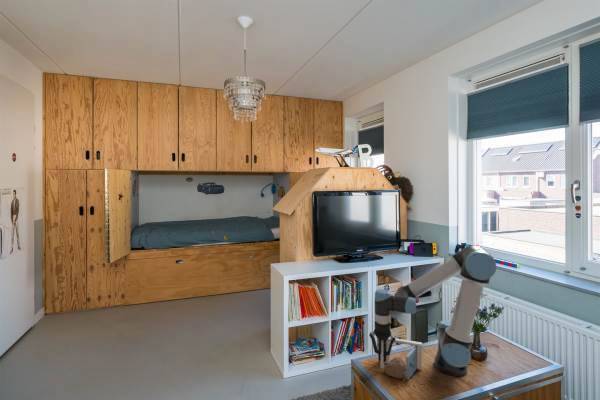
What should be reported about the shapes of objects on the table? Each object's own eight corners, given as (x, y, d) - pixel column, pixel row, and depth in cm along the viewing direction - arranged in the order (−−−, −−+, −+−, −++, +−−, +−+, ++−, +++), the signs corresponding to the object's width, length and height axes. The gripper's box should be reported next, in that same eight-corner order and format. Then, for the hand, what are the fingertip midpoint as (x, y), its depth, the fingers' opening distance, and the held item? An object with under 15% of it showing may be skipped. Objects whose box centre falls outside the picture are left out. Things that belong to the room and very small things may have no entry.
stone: (399, 387, 145) (410, 370, 144) (381, 374, 148) (393, 357, 147) (398, 375, 157) (409, 359, 156) (382, 363, 159) (393, 347, 159)
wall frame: (421, 368, 157) (421, 342, 156) (421, 370, 155) (421, 344, 154) (381, 360, 164) (381, 335, 163) (380, 362, 162) (380, 337, 162)
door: (415, 366, 157) (415, 344, 157) (421, 368, 156) (421, 346, 155) (405, 379, 147) (406, 355, 147) (411, 381, 146) (411, 357, 145)
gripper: (396, 320, 155) (396, 365, 156) (370, 316, 160) (370, 360, 161) (395, 326, 148) (395, 374, 149) (367, 322, 153) (368, 368, 154)
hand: (382, 367), depth 155 cm, fingers closed
